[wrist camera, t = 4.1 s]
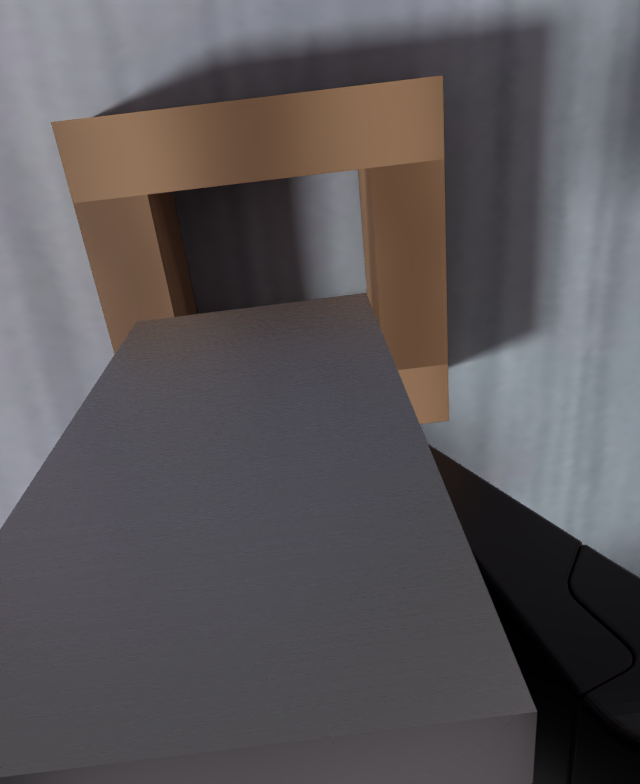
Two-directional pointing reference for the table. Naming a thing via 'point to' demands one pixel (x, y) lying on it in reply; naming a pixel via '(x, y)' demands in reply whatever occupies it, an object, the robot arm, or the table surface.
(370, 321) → the tall grey block
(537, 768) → the robot arm
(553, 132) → the table surface
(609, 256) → the table surface
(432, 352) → the frame
